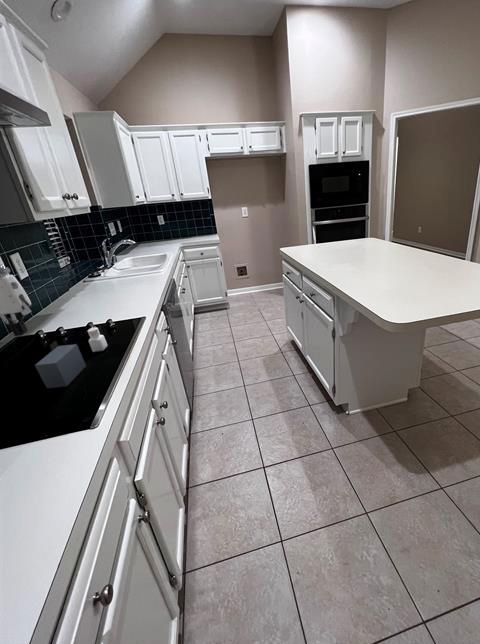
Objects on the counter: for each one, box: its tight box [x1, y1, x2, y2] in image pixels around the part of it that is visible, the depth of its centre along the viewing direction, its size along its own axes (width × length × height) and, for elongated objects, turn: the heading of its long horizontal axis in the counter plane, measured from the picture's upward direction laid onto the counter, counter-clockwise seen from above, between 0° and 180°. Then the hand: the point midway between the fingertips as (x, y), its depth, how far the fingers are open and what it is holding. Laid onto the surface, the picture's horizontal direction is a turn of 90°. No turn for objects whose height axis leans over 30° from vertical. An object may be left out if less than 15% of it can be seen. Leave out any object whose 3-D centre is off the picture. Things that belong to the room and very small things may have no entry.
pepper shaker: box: [87, 327, 108, 353], centre depth 113 cm, size 4×4×10 cm
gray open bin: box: [34, 343, 87, 389], centre depth 98 cm, size 6×11×10 cm, turn 2°
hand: (21, 333), depth 92 cm, fingers closed
